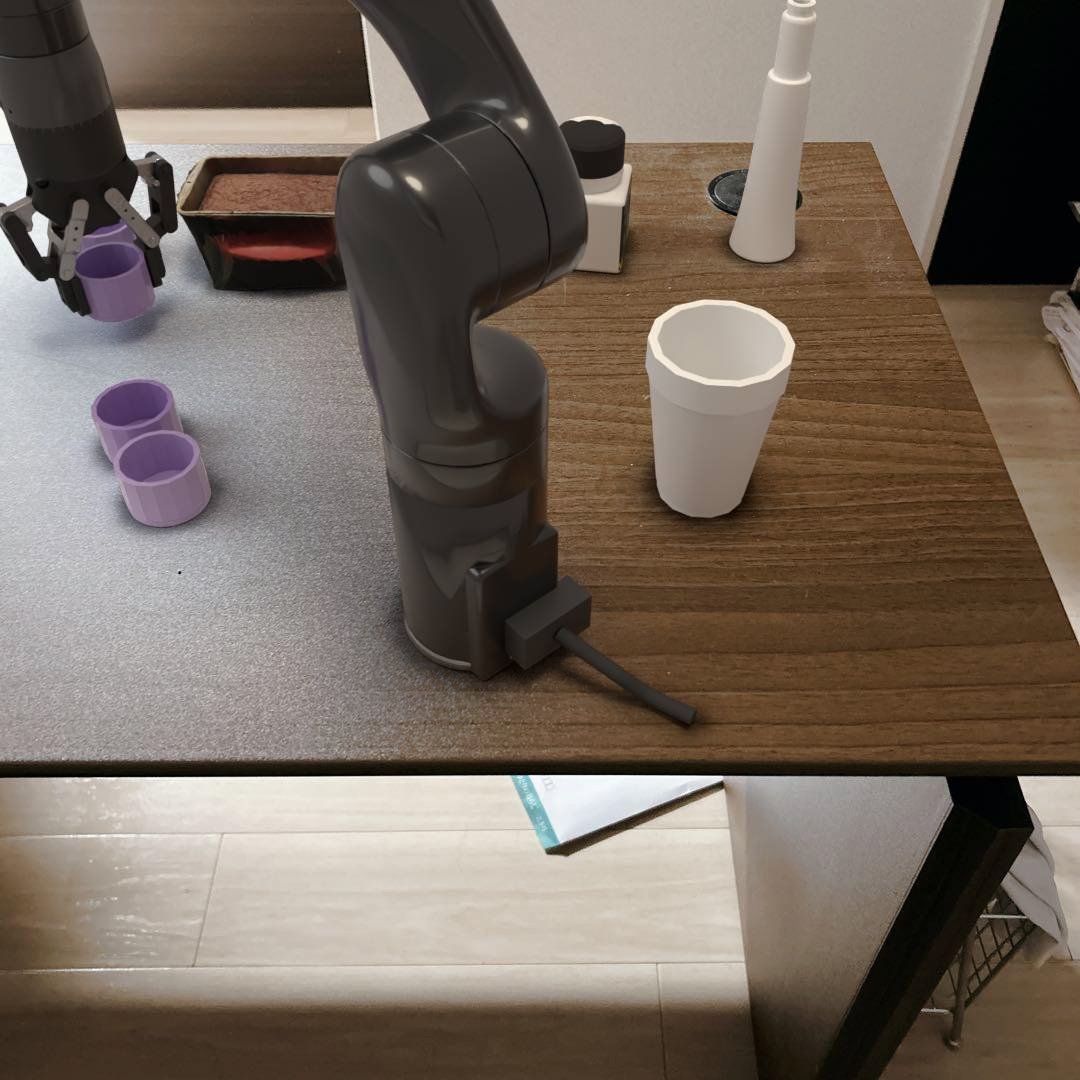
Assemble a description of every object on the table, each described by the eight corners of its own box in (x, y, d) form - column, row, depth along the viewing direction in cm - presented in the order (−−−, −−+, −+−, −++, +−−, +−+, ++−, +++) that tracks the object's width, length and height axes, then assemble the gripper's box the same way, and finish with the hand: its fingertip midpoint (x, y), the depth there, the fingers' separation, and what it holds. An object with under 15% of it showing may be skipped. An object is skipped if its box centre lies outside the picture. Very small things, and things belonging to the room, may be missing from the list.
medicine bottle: (620, 275, 101) (628, 149, 93) (541, 268, 102) (542, 142, 94) (628, 233, 106) (636, 110, 98) (553, 227, 107) (555, 104, 98)
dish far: (156, 261, 103) (145, 221, 100) (96, 284, 100) (83, 244, 97) (127, 235, 106) (115, 196, 103) (68, 257, 103) (55, 217, 100)
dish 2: (198, 447, 85) (187, 406, 82) (128, 481, 83) (113, 440, 80) (162, 410, 88) (150, 369, 85) (92, 442, 86) (77, 400, 83)
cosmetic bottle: (784, 269, 102) (830, 20, 86) (720, 254, 104) (754, 8, 88) (801, 236, 106) (848, -8, 90) (739, 223, 108) (774, -19, 92)
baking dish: (238, 226, 111) (198, 133, 103) (413, 210, 108) (386, 113, 100) (197, 320, 102) (151, 226, 94) (388, 306, 99) (355, 208, 91)
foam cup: (728, 433, 86) (751, 288, 77) (789, 512, 80) (822, 365, 71) (615, 463, 84) (624, 317, 75) (669, 547, 78) (687, 400, 69)
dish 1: (168, 304, 94) (156, 263, 91) (103, 331, 91) (89, 289, 88) (136, 275, 97) (123, 233, 94) (72, 300, 94) (57, 258, 91)
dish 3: (225, 501, 81) (214, 460, 78) (152, 539, 79) (137, 498, 76) (186, 460, 84) (174, 419, 81) (114, 495, 82) (99, 454, 79)
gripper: (-21, 150, 76) (55, 352, 89) (171, 89, 83) (218, 285, 95) (-62, 111, 80) (16, 309, 92) (125, 55, 87) (175, 247, 99)
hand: (118, 296), depth 94 cm, fingers closed on dish 1, 6 cm apart
